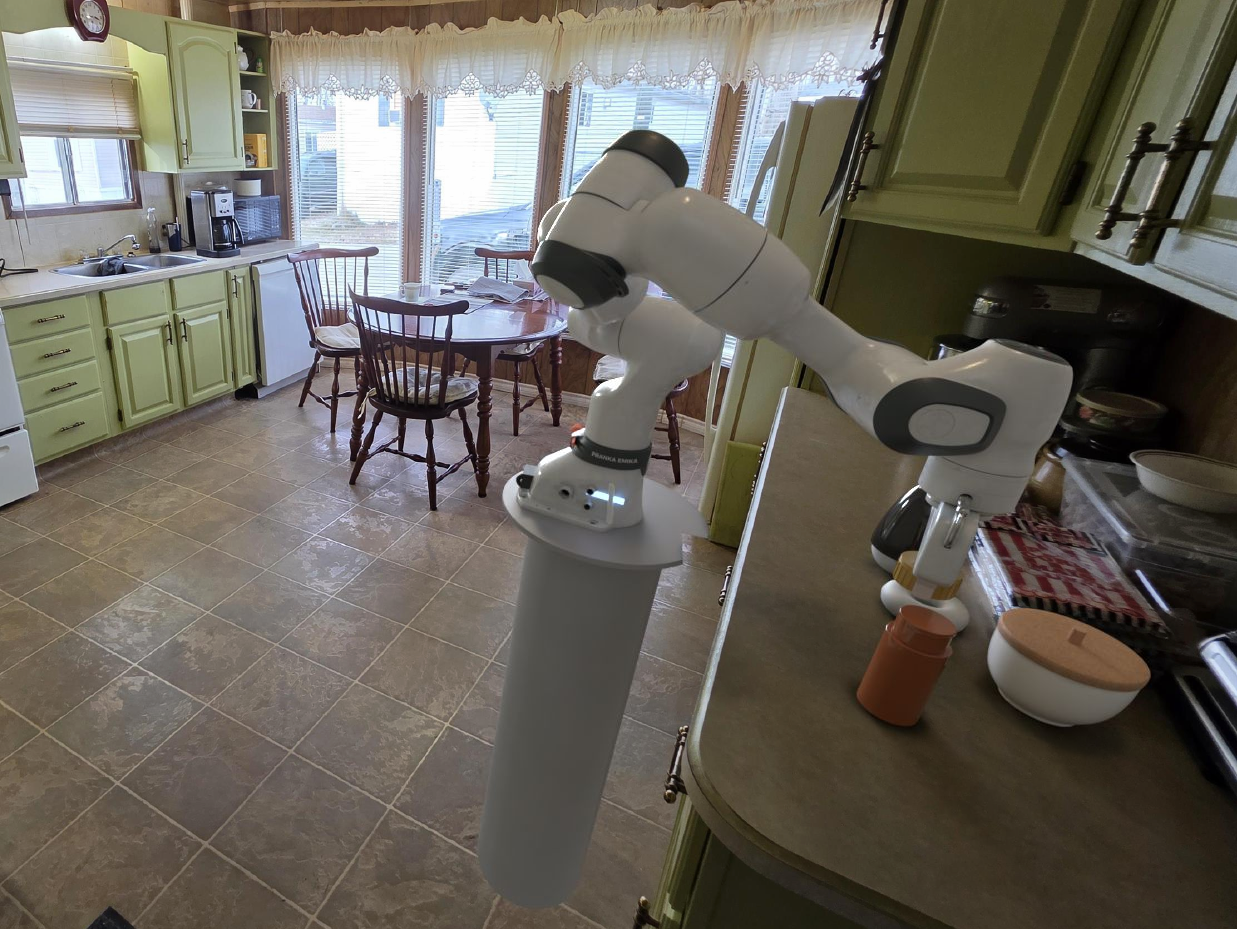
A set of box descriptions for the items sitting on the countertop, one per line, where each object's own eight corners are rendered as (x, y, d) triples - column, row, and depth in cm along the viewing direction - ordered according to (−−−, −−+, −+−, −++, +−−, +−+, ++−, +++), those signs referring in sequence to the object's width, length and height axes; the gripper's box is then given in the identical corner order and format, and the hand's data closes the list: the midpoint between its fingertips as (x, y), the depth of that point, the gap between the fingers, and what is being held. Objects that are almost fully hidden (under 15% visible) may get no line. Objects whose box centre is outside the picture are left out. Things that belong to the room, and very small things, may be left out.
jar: (868, 719, 76) (909, 631, 71) (848, 682, 82) (884, 597, 77) (928, 731, 75) (974, 642, 70) (903, 692, 81) (944, 607, 75)
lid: (968, 602, 80) (978, 582, 78) (915, 599, 80) (924, 578, 78) (929, 571, 85) (938, 552, 84) (880, 568, 85) (888, 548, 84)
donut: (953, 607, 97) (872, 584, 101) (964, 588, 95) (881, 565, 99) (971, 649, 89) (881, 622, 93) (982, 629, 87) (891, 602, 91)
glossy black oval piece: (877, 583, 101) (914, 494, 95) (853, 546, 110) (886, 464, 104) (955, 597, 99) (999, 507, 93) (924, 559, 108) (962, 475, 102)
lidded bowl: (992, 652, 88) (1029, 582, 84) (1124, 718, 78) (1174, 644, 74) (952, 687, 82) (990, 614, 77) (1091, 764, 72) (1143, 686, 68)
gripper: (1002, 525, 68) (948, 634, 73) (1008, 465, 82) (962, 560, 87) (925, 502, 71) (879, 607, 77) (944, 448, 86) (904, 540, 91)
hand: (924, 581), depth 82 cm, fingers closed on lid, 6 cm apart
